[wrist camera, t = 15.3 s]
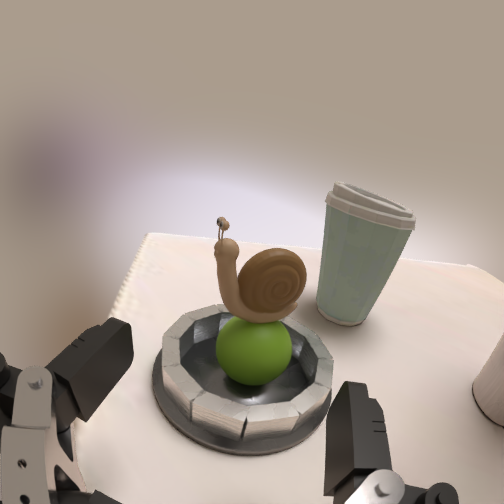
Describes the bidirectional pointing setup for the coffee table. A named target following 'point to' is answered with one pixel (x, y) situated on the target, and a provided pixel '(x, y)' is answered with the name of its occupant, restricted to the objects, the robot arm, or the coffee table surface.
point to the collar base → (240, 389)
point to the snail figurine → (256, 310)
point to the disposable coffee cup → (359, 251)
